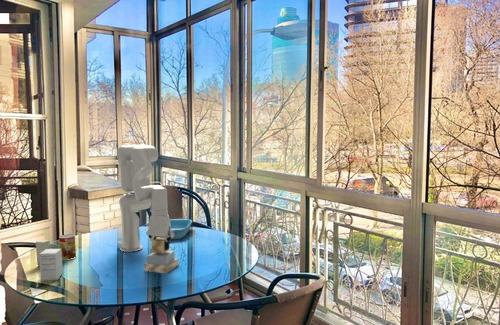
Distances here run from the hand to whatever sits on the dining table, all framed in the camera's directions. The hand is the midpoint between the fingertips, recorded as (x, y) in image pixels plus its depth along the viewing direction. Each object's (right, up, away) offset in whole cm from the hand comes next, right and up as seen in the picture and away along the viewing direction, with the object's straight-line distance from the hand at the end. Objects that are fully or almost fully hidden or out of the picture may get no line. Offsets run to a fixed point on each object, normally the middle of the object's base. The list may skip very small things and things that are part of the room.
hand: (160, 248), depth 195 cm
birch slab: (0, -10, +1) cm, 10 cm away
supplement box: (-48, -11, -11) cm, 50 cm away
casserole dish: (-7, -6, +68) cm, 68 cm away
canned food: (-54, -9, +19) cm, 58 cm away
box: (-60, -10, +6) cm, 61 cm away
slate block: (0, -6, +1) cm, 6 cm away
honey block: (0, -1, 0) cm, 1 cm away
